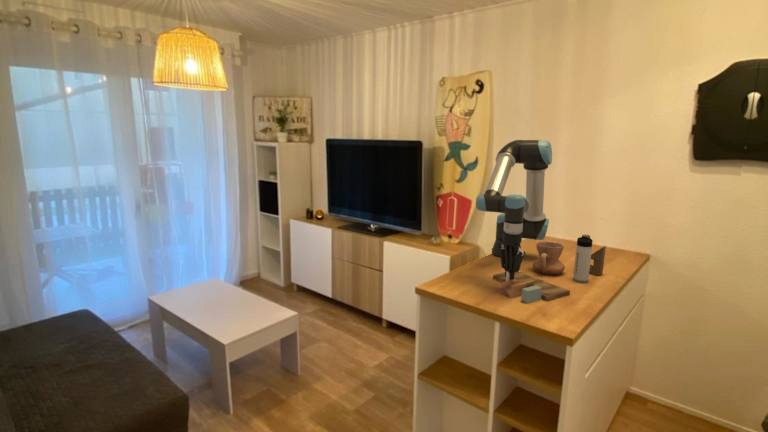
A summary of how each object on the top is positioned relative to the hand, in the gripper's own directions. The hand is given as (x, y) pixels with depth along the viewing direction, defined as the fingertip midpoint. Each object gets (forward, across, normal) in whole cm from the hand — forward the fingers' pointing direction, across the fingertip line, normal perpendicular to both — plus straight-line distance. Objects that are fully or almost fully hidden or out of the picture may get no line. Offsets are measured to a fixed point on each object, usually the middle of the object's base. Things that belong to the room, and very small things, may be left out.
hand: (508, 286), depth 173 cm
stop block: (+2, +12, 0) cm, 12 cm away
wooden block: (+2, +2, +52) cm, 53 cm away
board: (+2, +1, +12) cm, 12 cm away
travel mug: (+2, +7, +38) cm, 39 cm away
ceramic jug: (+2, -8, +34) cm, 35 cm away
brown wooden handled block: (+2, +4, +3) cm, 5 cm away
